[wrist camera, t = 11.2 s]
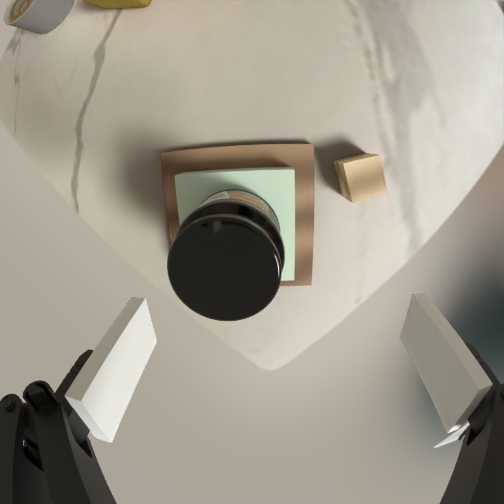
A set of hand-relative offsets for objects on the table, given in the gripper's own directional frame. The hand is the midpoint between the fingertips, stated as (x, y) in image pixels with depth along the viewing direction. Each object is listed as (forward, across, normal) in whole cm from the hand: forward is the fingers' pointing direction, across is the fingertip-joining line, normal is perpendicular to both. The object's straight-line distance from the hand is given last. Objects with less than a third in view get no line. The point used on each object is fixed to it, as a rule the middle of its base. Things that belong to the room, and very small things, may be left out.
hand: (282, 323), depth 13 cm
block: (+27, +12, +4) cm, 30 cm away
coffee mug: (+27, -37, +42) cm, 62 cm away
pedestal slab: (+25, -4, -2) cm, 26 cm away
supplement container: (+22, -4, -2) cm, 22 cm away
